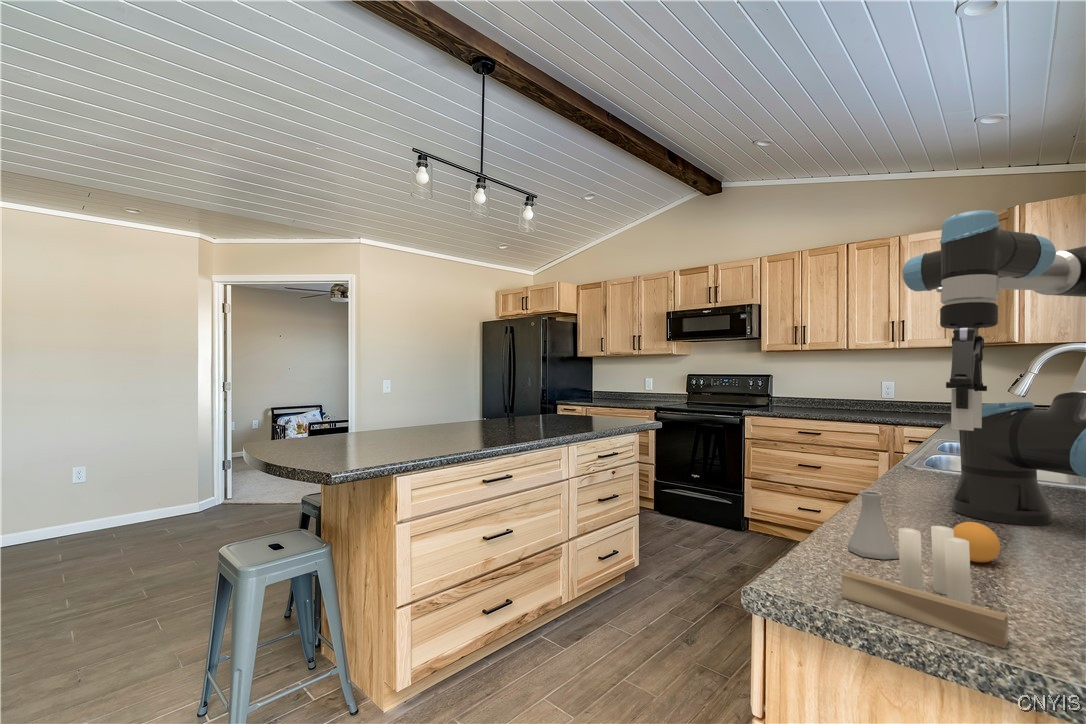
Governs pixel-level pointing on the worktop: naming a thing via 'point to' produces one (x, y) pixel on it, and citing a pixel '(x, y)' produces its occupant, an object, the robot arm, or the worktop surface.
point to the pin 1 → (910, 558)
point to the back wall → (927, 608)
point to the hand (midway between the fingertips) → (967, 428)
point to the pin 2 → (958, 569)
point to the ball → (978, 541)
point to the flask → (872, 530)
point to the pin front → (939, 556)
